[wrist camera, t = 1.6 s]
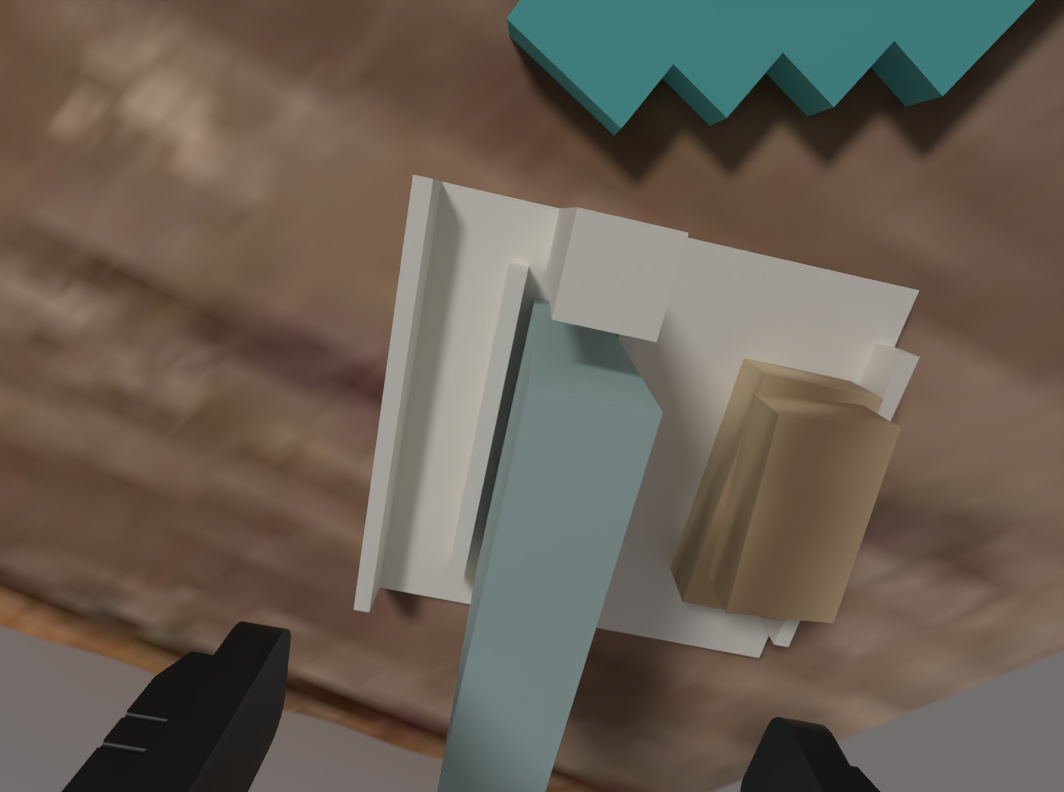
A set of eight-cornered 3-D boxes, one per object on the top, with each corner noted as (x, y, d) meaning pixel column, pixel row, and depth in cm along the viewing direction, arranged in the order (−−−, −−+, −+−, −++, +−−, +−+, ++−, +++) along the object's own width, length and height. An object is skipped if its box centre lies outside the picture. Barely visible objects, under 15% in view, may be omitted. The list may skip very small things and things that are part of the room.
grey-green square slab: (601, 312, 19) (663, 412, 10) (539, 554, 22) (539, 809, 13) (534, 297, 19) (529, 383, 10) (480, 543, 22) (437, 791, 13)
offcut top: (862, 404, 18) (900, 427, 16) (806, 584, 20) (833, 623, 18) (753, 393, 18) (778, 414, 16) (708, 574, 20) (725, 612, 18)
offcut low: (850, 380, 20) (883, 398, 18) (764, 587, 23) (785, 621, 21) (743, 357, 20) (765, 373, 18) (670, 568, 22) (682, 601, 21)
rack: (900, 286, 20) (1233, 357, 10) (750, 640, 25) (882, 907, 15) (429, 178, 19) (316, 148, 9) (372, 569, 24) (261, 808, 14)
